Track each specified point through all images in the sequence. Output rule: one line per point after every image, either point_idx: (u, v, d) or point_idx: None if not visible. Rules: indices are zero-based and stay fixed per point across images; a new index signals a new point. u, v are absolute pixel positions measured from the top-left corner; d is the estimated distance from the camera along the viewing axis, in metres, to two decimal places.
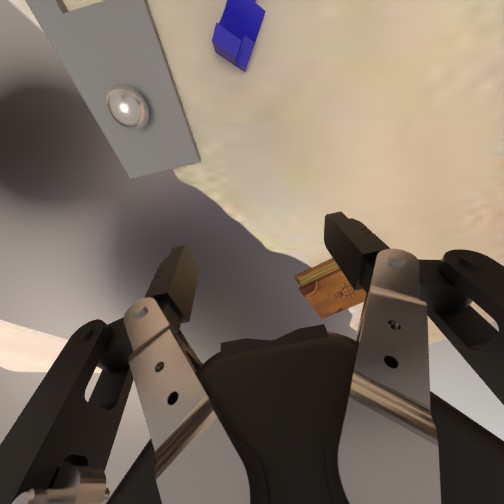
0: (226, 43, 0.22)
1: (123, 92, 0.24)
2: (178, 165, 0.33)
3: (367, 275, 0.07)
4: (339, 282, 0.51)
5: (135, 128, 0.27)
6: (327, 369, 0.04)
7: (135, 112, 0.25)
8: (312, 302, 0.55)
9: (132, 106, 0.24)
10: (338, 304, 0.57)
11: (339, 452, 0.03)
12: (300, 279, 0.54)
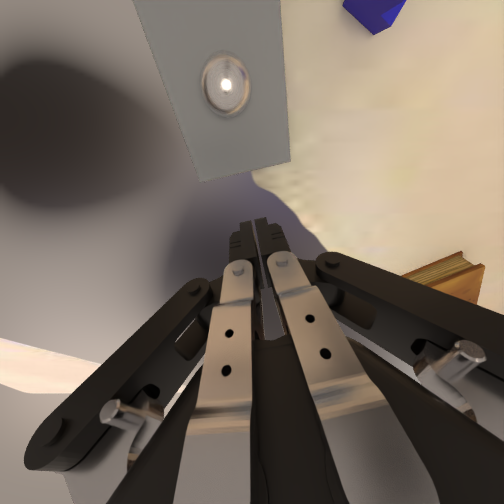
0: None
1: (232, 60, 0.16)
2: (263, 165, 0.26)
3: (269, 274, 0.09)
4: None
5: (232, 115, 0.19)
6: None
7: (242, 90, 0.18)
8: None
9: (241, 81, 0.17)
10: None
11: (339, 452, 0.03)
12: None
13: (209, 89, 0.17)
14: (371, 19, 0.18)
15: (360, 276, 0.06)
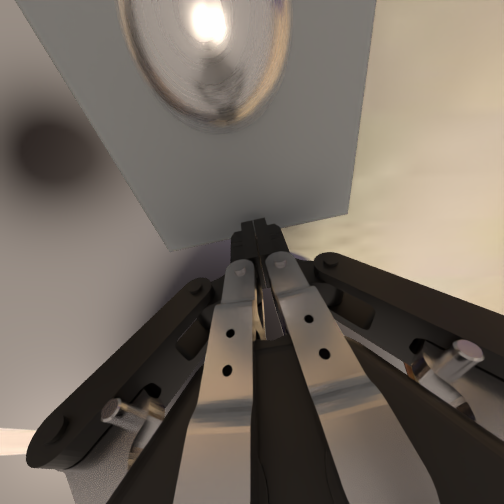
0: None
1: None
2: (293, 222, 0.13)
3: None
4: None
5: (230, 128, 0.07)
6: None
7: (268, 44, 0.05)
8: None
9: (266, 2, 0.04)
10: None
11: (339, 452, 0.03)
12: None
13: (141, 35, 0.04)
14: None
15: (358, 276, 0.06)
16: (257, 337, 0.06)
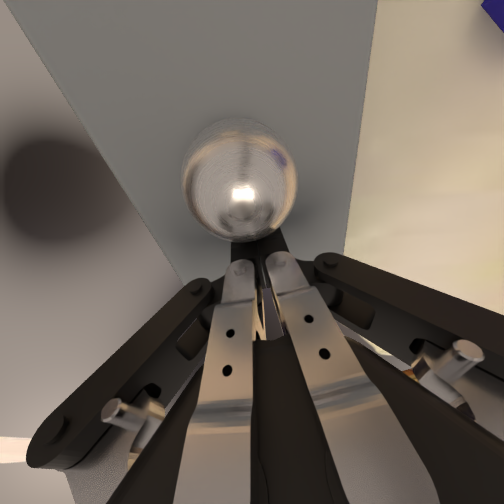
0: None
1: (263, 147, 0.06)
2: None
3: None
4: None
5: None
6: None
7: (282, 209, 0.07)
8: None
9: (281, 193, 0.07)
10: None
11: (339, 452, 0.03)
12: None
13: (200, 209, 0.07)
14: None
15: (358, 276, 0.06)
16: (257, 337, 0.06)
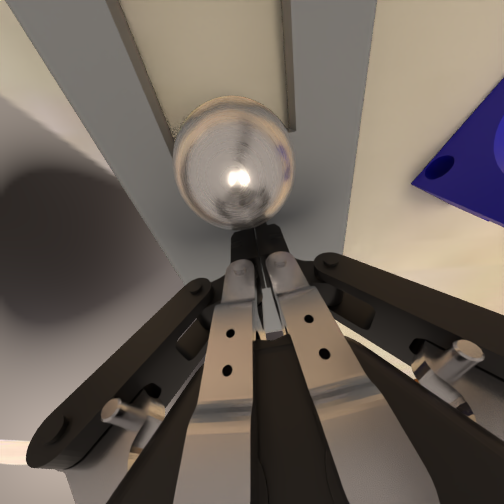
0: None
1: None
2: None
3: None
4: None
5: None
6: None
7: None
8: None
9: None
10: None
11: (339, 452, 0.03)
12: None
13: None
14: (455, 205, 0.13)
15: (358, 276, 0.06)
16: (257, 337, 0.06)
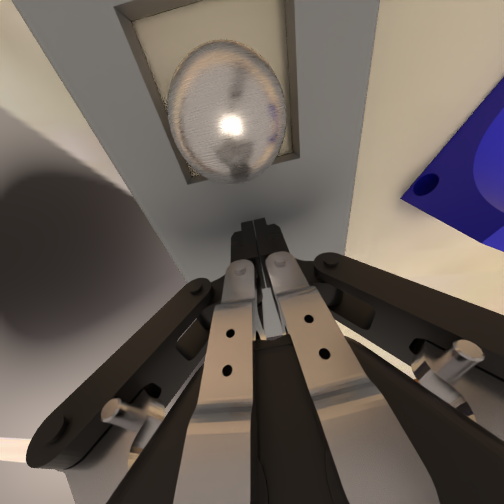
0: None
1: (263, 166, 0.08)
2: None
3: None
4: None
5: None
6: None
7: None
8: None
9: None
10: None
11: (339, 452, 0.03)
12: None
13: None
14: None
15: (358, 276, 0.06)
16: (257, 337, 0.06)
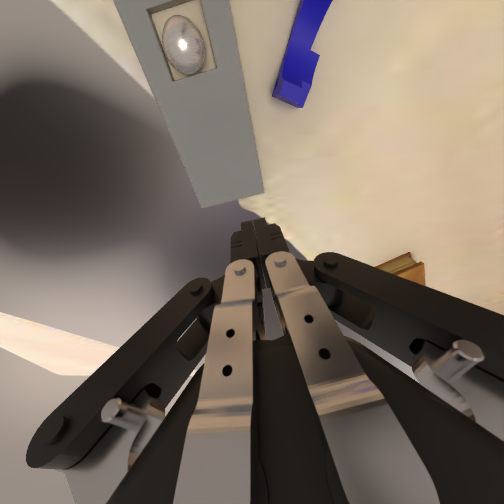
0: (291, 94, 0.25)
1: (195, 58, 0.23)
2: (245, 196, 0.37)
3: None
4: None
5: None
6: None
7: (201, 65, 0.25)
8: None
9: (201, 65, 0.24)
10: None
11: (339, 452, 0.03)
12: None
13: (179, 71, 0.25)
14: (291, 103, 0.29)
15: (358, 276, 0.06)
16: (257, 337, 0.06)
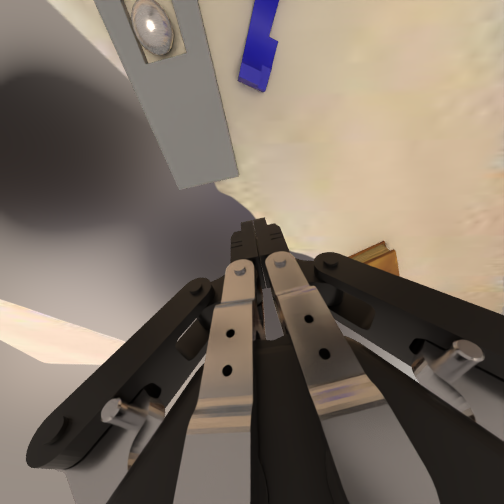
0: (250, 76, 0.27)
1: (161, 36, 0.25)
2: (220, 179, 0.39)
3: None
4: None
5: None
6: None
7: (170, 47, 0.27)
8: None
9: (169, 45, 0.26)
10: None
11: (339, 452, 0.03)
12: None
13: (149, 50, 0.26)
14: (254, 87, 0.31)
15: (358, 276, 0.06)
16: (257, 337, 0.06)
